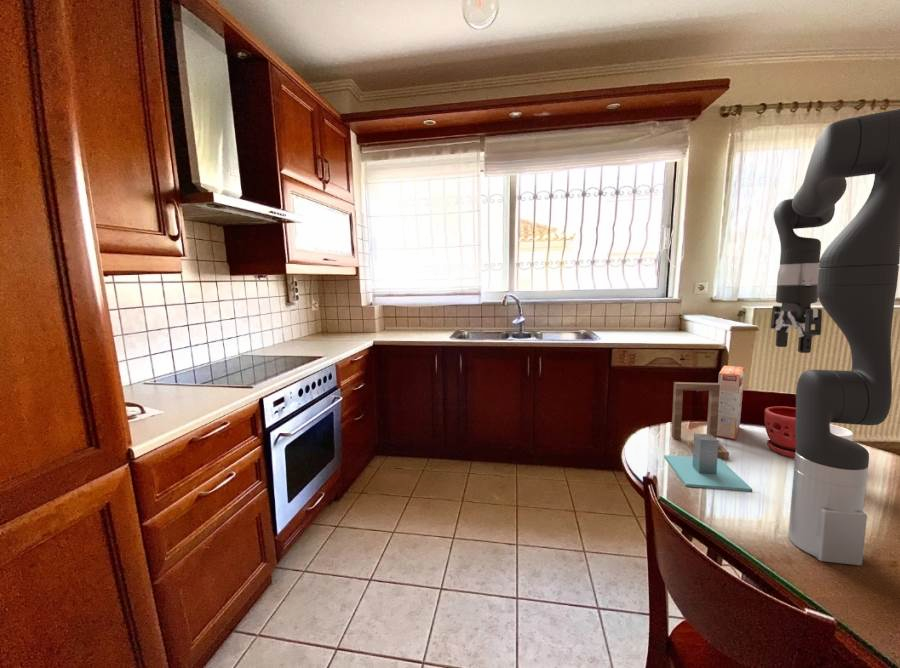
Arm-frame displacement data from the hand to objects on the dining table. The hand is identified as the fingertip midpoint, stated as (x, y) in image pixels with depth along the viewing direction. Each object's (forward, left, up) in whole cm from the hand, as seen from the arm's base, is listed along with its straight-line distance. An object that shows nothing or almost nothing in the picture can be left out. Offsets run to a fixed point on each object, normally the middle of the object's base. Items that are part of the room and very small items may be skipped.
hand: (792, 349), depth 93 cm
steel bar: (-3, +19, -32) cm, 37 cm away
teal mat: (-3, +19, -32) cm, 37 cm away
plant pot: (+14, -10, -32) cm, 37 cm away
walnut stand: (+14, +13, -32) cm, 37 cm away
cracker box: (+28, 0, -32) cm, 43 cm away
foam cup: (-2, -7, -32) cm, 33 cm away
